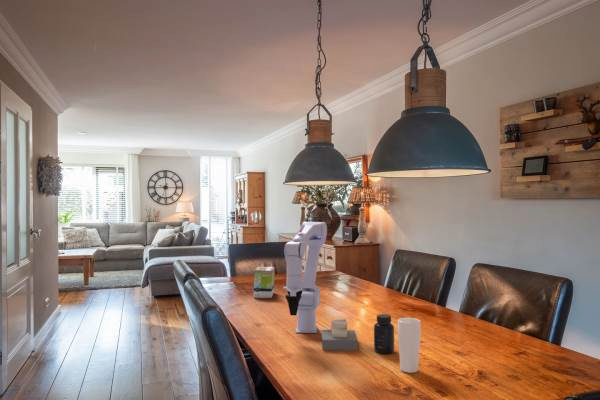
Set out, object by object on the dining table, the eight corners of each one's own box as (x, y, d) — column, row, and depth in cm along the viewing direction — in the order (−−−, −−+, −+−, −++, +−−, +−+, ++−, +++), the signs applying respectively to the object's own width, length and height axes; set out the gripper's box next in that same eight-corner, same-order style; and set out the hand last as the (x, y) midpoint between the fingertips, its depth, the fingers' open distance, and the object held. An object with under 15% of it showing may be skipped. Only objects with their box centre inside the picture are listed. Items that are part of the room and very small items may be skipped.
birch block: (331, 333, 160) (331, 319, 160) (345, 332, 160) (345, 318, 160) (332, 337, 155) (332, 322, 155) (347, 337, 155) (347, 322, 155)
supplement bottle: (380, 346, 156) (380, 312, 156) (397, 350, 151) (398, 315, 151) (370, 351, 150) (370, 316, 150) (388, 356, 146) (388, 319, 146)
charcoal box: (322, 340, 164) (322, 329, 164) (354, 341, 163) (354, 330, 163) (322, 351, 152) (322, 339, 152) (357, 352, 151) (357, 340, 151)
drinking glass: (416, 366, 137) (416, 317, 137) (423, 374, 130) (423, 323, 130) (394, 366, 137) (395, 317, 137) (400, 374, 130) (400, 323, 130)
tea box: (272, 298, 234) (272, 270, 234) (253, 298, 235) (253, 270, 235) (274, 292, 249) (274, 266, 250) (256, 292, 250) (256, 266, 250)
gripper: (284, 271, 169) (284, 308, 168) (281, 277, 154) (281, 317, 154) (303, 272, 168) (303, 308, 168) (302, 278, 154) (301, 317, 153)
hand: (294, 312), depth 161 cm, fingers open, 7 cm apart
